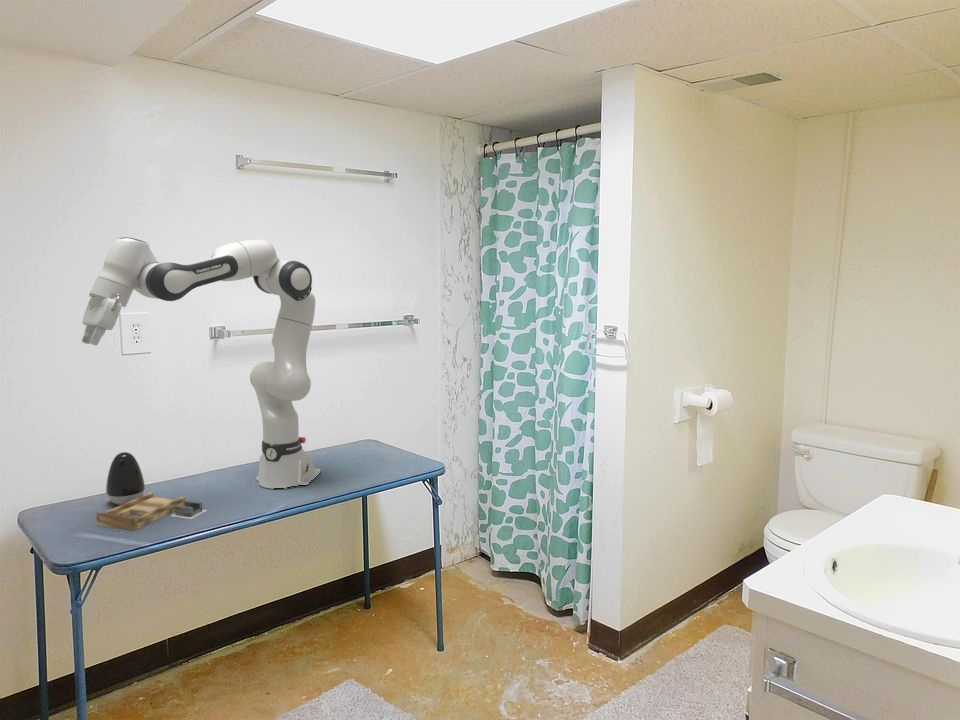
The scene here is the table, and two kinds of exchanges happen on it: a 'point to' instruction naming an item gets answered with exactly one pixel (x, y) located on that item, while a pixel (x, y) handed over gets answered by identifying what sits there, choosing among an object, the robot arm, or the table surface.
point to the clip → (188, 509)
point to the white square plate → (190, 517)
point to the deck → (139, 512)
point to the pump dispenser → (124, 479)
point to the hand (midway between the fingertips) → (88, 343)
